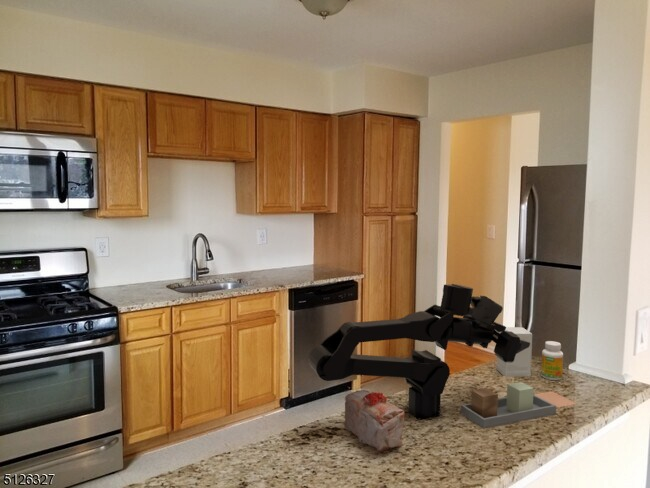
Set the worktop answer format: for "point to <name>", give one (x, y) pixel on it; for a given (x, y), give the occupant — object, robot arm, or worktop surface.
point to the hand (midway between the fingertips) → (516, 336)
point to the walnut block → (484, 402)
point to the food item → (374, 419)
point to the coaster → (555, 399)
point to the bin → (510, 413)
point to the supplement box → (518, 356)
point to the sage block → (519, 397)
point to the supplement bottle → (552, 361)
